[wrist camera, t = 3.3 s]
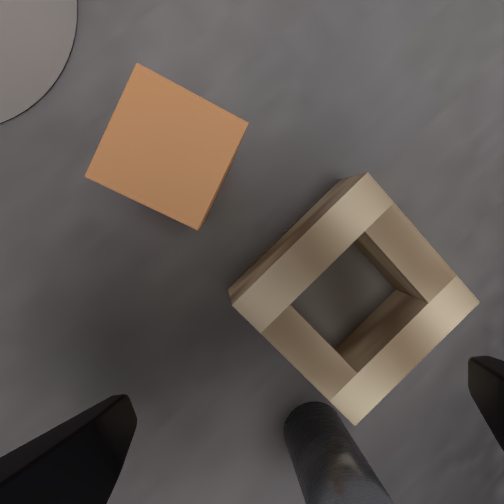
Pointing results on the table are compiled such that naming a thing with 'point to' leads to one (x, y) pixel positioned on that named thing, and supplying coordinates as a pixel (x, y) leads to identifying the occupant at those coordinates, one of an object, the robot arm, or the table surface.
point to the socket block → (353, 296)
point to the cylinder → (32, 50)
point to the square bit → (167, 148)
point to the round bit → (329, 459)
